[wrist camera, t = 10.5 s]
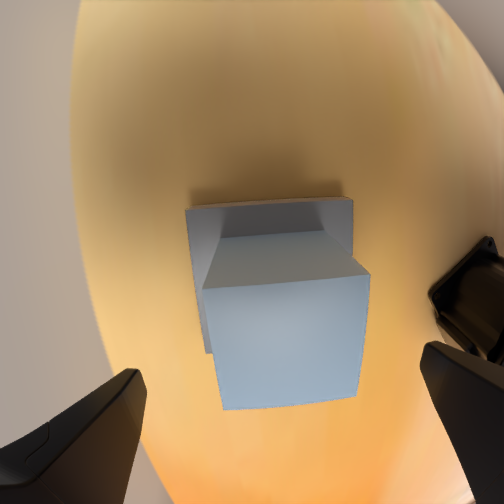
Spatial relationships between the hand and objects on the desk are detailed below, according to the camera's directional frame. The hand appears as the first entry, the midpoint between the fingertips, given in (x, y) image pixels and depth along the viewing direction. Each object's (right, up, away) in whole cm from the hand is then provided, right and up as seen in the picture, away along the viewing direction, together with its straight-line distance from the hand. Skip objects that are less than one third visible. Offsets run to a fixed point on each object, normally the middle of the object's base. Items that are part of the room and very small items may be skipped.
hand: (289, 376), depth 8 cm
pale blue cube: (0, +2, +7) cm, 7 cm away
